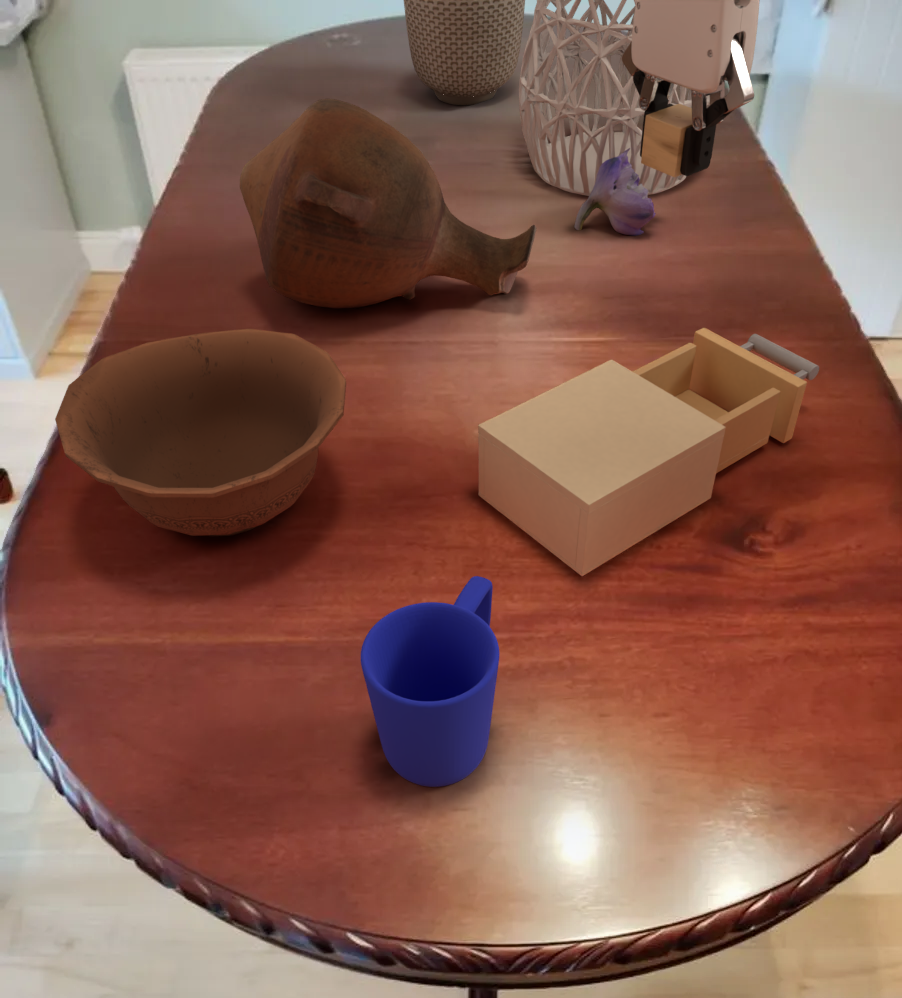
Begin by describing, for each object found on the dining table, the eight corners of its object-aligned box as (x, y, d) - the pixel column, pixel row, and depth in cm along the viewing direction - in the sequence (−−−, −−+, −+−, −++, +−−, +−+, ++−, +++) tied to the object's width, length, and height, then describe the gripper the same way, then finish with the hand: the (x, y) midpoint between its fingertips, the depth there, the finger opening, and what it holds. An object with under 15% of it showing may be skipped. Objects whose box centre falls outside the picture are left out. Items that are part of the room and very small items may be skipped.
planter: (384, 101, 148) (375, -22, 137) (454, 67, 157) (452, -51, 146) (478, 126, 140) (477, -3, 129) (545, 89, 150) (551, -34, 138)
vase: (521, 130, 139) (528, -134, 118) (698, 132, 137) (737, -136, 115) (512, 207, 122) (518, -84, 101) (713, 210, 120) (762, -86, 99)
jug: (221, 325, 104) (500, 388, 104) (201, 159, 88) (533, 234, 87) (276, 204, 115) (530, 261, 115) (268, 35, 98) (565, 101, 98)
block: (673, 151, 92) (679, 103, 89) (707, 164, 90) (714, 116, 87) (640, 163, 90) (645, 114, 87) (674, 177, 88) (680, 128, 85)
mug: (537, 684, 70) (543, 582, 63) (466, 821, 62) (464, 724, 55) (431, 649, 72) (426, 547, 65) (351, 777, 65) (334, 677, 58)
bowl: (154, 418, 93) (124, 312, 85) (384, 438, 90) (375, 330, 82) (49, 583, 78) (0, 472, 70) (321, 614, 75) (302, 502, 67)
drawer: (731, 362, 96) (742, 307, 92) (829, 415, 89) (846, 359, 85) (589, 437, 88) (594, 381, 84) (685, 502, 82) (696, 445, 77)
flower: (573, 194, 109) (646, 137, 109) (549, 196, 117) (617, 142, 117) (616, 266, 113) (687, 211, 112) (590, 263, 121) (656, 212, 120)
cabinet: (603, 432, 90) (611, 358, 84) (710, 502, 83) (726, 426, 77) (478, 499, 84) (477, 424, 78) (581, 580, 77) (588, 504, 71)
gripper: (825, -68, 74) (775, 180, 87) (660, -102, 83) (637, 125, 96) (757, -49, 71) (716, 205, 84) (593, -87, 80) (579, 146, 93)
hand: (674, 160), depth 90 cm, fingers closed on block, 4 cm apart
